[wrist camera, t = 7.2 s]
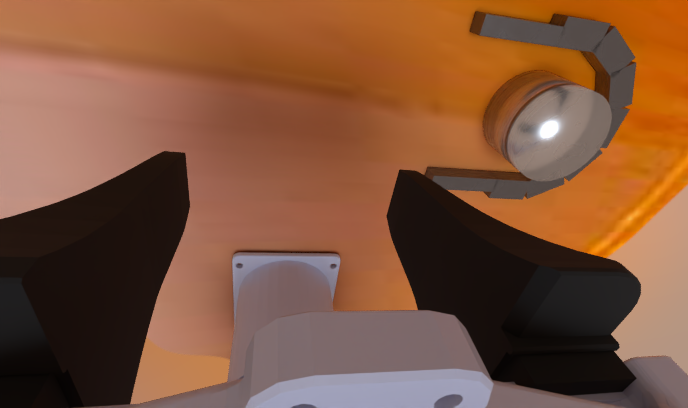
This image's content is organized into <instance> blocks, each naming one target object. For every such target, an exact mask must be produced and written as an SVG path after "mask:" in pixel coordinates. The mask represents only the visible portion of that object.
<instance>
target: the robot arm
mask: <svg viewBox="0 0 688 408" xmlns="http://www.w3.org/2000/svg"><path fill="white" fill-rule="evenodd" d="M189 208H190V201H189V190H188V179H187V168H186V156H185V153H181V152H168V151H164V152H161V153H159V154H157V155H155V156H153V157H152V158H150V159H148V160H146V161H144V162H143V163H141V164H139V165H137V166H135V167H134V168H132V169H130V170H128V171H126V172H125V173H123V174H121V175H119V176H117V177H115V178H113V179H111V180H109V181H107V182H105V183H103V184H100V185H98V186H96V187H94V188H92V189H90V190H88V191H85V192H83V193H80V194H78V195H76V196H73V197H70V198H68V199H65V200H62V201H60V202H57V203H54V204H51V205H48V206H45V207H41V208H38V209H35V210H31V211H28V212H25V213H21V214H18V215H15V216H11V217H7V218H4V219H0V408H688V375H687V374H686V373H685V372H684V371H683V370H682V369H681V368H680V367H679V366H678V365H677V364H676V363H675V362H674V361H673V360H672V359H671V358H670V357H668V356H648V357H635V358H630V359H628V360H626V361H624V362H622V360H621V359H620V358H619V357H618V356H617V354H616V353H615V352H614V351H616V350H617V349H619V344H618V342H617V341H616V340H615V339H614V338H613V336H612V335H611V333H612V332H613V331H614V330H615V329H616V327H617V326H618V325H619V324H620V323H621V322H622V321H623V320H624V318H625V317H626V316H627V315H628V314H629V313H630V312H631V311H632V309H633V308H634V307H635V305H636V304H637V302H638V299H639V297H640V294H641V284H640V282H639V281H638V279H637V278H636V277H635V276H634V275H633V274H632V273H631V272H630V271H629V270H627V269H626V268H625V267H624V266H623V265H622V264H620V263H619V262H617V261H614V260H610V259H607V258H603V257H599V256H595V255H591V254H587V253H584V252H580V251H576V250H573V249H570V248H567V247H563V246H560V245H557V244H554V243H551V242H548V241H546V240H543V239H540V238H537V237H535V236H532V235H530V234H527V233H525V232H522V231H520V230H517V229H515V228H513V227H511V226H509V225H506V224H504V223H502V222H500V221H498V220H496V219H494V218H492V217H490V216H488V215H487V214H485V213H483V212H481V211H479V210H478V209H476V208H474V207H473V206H471V205H469V204H468V203H466V202H464V201H463V200H461V199H460V198H458V197H456V196H455V195H453V194H452V193H450V192H449V191H447V190H446V189H444V188H443V187H441V186H440V185H438V184H437V183H435V182H434V181H432V180H431V179H429V178H428V177H426V176H424V175H423V174H421V173H419V172H417V171H412V170H399V173H398V177H397V180H396V184H395V187H394V191H393V195H392V198H391V202H390V205H389V209H388V213H387V220H388V225H389V230H390V234H391V238H392V241H393V243H394V246H395V248H396V251H397V253H398V256H399V258H400V261H401V263H402V266H403V268H404V271H405V273H406V276H407V278H408V281H409V283H410V286H411V288H412V291H413V294H414V297H415V300H416V304H417V308H418V310H391V311H334V310H333V304H332V303H333V298H334V293H335V287H336V282H337V277H338V271H339V266H340V256H339V255H338V254H331V253H246V252H239V253H235V254H234V255H233V258H232V269H233V297H234V325H235V326H234V334H233V342H232V349H231V357H230V365H229V373H228V381H227V382H226V383H222V384H218V385H213V386H209V387H205V388H202V389H197V390H193V391H189V392H185V393H181V394H177V395H173V396H169V397H165V398H160V399H156V400H152V401H149V402H144V403H140V404H130V402H131V397H132V393H133V388H134V384H135V380H136V376H137V372H138V367H139V363H140V359H141V355H142V351H143V347H144V343H145V339H146V336H147V332H148V328H149V324H150V321H151V317H152V314H153V310H154V307H155V303H156V299H157V296H158V294H159V291H160V288H161V285H162V283H163V280H164V278H165V276H166V273H167V271H168V269H169V266H170V264H171V261H172V259H173V257H174V254H175V252H176V249H177V247H178V245H179V242H180V240H181V237H182V235H183V232H184V229H185V225H186V221H187V217H188V213H189ZM238 263H241V265H239V264H238ZM331 264H335V265H331Z"/></svg>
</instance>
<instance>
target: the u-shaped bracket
mask: <svg viewBox="0 0 688 408" xmlns="http://www.w3.org/2000/svg"><path fill="white" fill-rule="evenodd" d="M470 32H472V33H475V34H477V35H481V36H487V37H494V38H501V39H508V40H514V41H521V42H528V43H534V44H541V45H548V46H554V47H561V48H568V49H574V50H580V51H581V52H582V53H583V55H584V56H585V57H586V59H587V60H588V61H589V63H590V64H591V65H592V67H593V68H594V69H595V71H596V85H595V92H597V93H599V94H601V95H602V96H603V97H604V98H605V99H606V100H607V101H608V103H609V105H610V108H611V113H612V119H611V126H610V129H609V132H608V135H607V137H606V139H605V141H604V143H603V144H602V146H601V147H600V148H607V146H608V145H609V143H610V141H611V140H612V138H613V136H614V135H615V133H616V131H617V130H618V128H619V126H620V125H621V123H622V121H623V120H624V118H625V116H626V115H627V113H628V111H629V110H630V109H627V108H625V106H628V105H630V104H632V96H633V87H634V78H635V69H636V63H635V62H632V60H633V59H634V58H635V56H634V55H633V53H632V52H631V50H630V49H629V47H628V46H627V44H626V43H625V41H624V39H623V38H622V36H621V35H620V33H619V32H618V30H617V29H616V27H615V26H610V23H605V22H600V21H594V20H588V19H583V18H577V17H571V16H565V15H559V14H554V16H553V18H552V20H551V23H544V22H538V21H532V20H526V19H519V18H513V17H507V16H501V15H495V14H489V13H483V12H477V11H476V12H475V16H474V19H473V22H472V25H471V29H470ZM600 154H602V152H601V150H600V149H599V150H598V151H597V153H596V154H595V155H594V156H593V157H592V158H591V159H590V160H589V161H588V162H587V163H586V164H584V165H583V166H582V167H581V168H579V169H578V170H576V171H575V172H573V173H571V174H569V175H567V176H565V177H562V178H559V179H556V180H551V181H536V180H532V179H530V178H527V177H526V176H525V175H523V174H522V173H513V172H497V171H482V170H466V169H451V168H436V167H428V168H427V171H426V174H425V176H426V177H428V178H429V179H431V180H432V181H434V182H435V183H437V184H438V185H440V186H441V187H443V188H444V189H447V190H466V191H483V192H484V193H485V194H486V195H487V196H488V197H489V198H503V199H523V198H524V196H525V197H526V198H527V199H528V198H530V197H533V196H535V195H538V194H540V193H543V192H545V191H548V190H550V189H553V188H556V187H558V186H561V185H563V184H564V178H565V179H567V180H568V181H570V180H571V179H572V178H573V177H575V176H576V175H577V174H578V173H579V172H580V171H582V170H583V169H584V168H585V167H586V166H588V165H589V164H590V163H591V162H592V161H593V160H595V159H596V158H597V157H598V156H599V155H600Z"/></svg>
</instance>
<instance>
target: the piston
mask: <svg viewBox="0 0 688 408" xmlns="http://www.w3.org/2000/svg"><path fill="white" fill-rule="evenodd" d="M611 119H612V113H611V108H610V105H609V103H608V101H607V100H606V99H605V98H604V97H603V96H602V95H601V94H599V93H597V92H595V91H592V90H590V89H588V88H586V87H584V86H581V85H579V84H576V83H574V82H571V81H569V80H567V79H564V78H562V77H560V76H557V75H555V74H552V73H550V72H547V71H543V70H533V71H528V72H524V73H522V74H519V75H517V76H515V77H513V78H512V79H510V80H509V81H507V82H506V83H505V84H504V85H503V86H502V87H501V88H500V89H499V90H498V91H497V92H496V93H495V94H494V96H493V97H492V99H491V100H490V102H489V104H488V106H487V108H486V110H485V114H484V118H483V132H484V136H485V138H486V140H487V142H488V143H489V144H490V145H491V146H492V147H493V148H494V149H495V150H496V151H497V152H499V153H500V154H501V155H502V156H503V157H504V158H505V159H506V160H508V161H509V162H510V163H511V164H512V165H513V166H514V167H515V168H516V169H518V170H519V171H520V172H521V173H522V174H523V175H525V176H526V177H527V178H530V179H532V180H536V181H551V180H556V179H559V178H562V177H565V176H567V175H569V174H571V173H573V172H575V171H576V170H578V169H579V168H581V167H582V166H583V165H584V164H586V163H587V162H588V161H589V160H590V159H591V158H592V157H593V156H594V155H595V154H596V153H597V151H598V150H599V149H600V147H601V146H602V144H603V143H604V141H605V139H606V137H607V135H608V132H609V129H610V126H611Z"/></svg>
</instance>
